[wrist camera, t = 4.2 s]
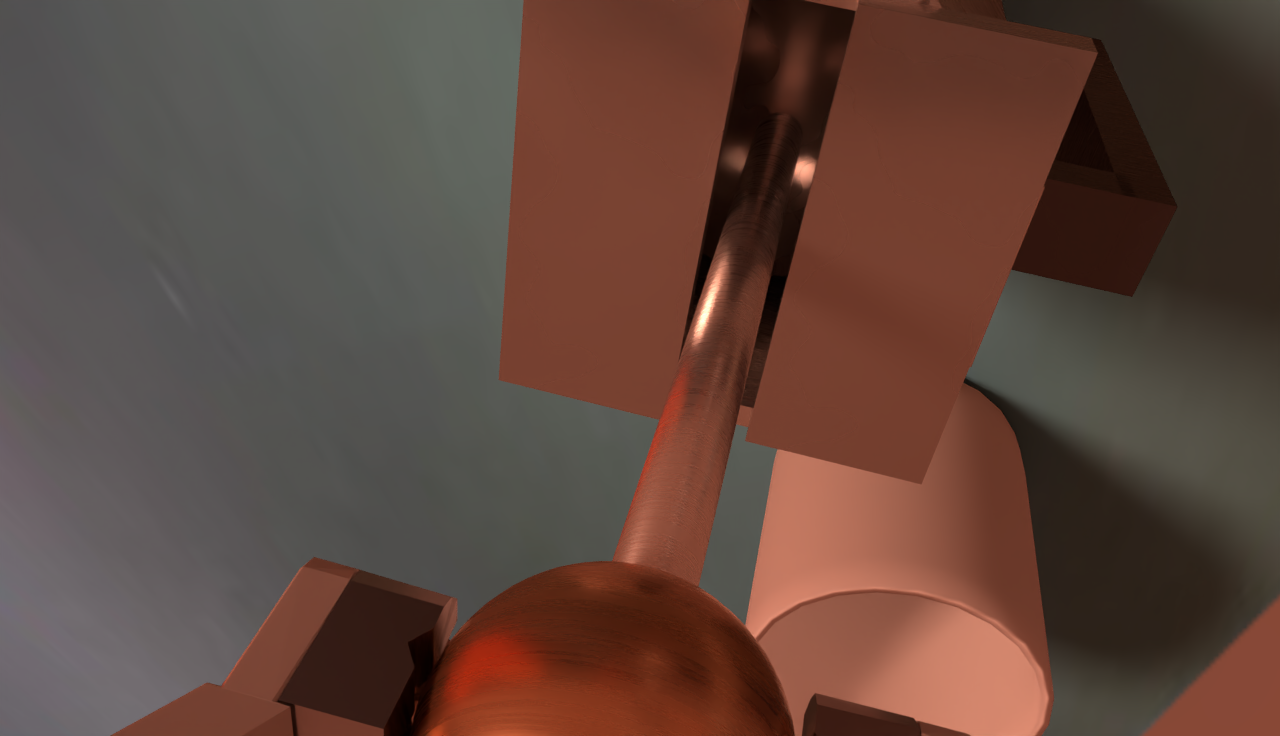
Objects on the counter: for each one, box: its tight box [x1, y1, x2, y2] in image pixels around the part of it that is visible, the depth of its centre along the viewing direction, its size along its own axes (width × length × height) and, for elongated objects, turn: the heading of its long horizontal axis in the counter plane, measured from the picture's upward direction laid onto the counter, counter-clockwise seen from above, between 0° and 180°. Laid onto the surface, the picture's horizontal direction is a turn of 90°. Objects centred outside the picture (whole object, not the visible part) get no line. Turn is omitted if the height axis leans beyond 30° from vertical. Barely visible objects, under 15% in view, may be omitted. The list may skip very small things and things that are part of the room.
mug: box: [745, 383, 1054, 736], centre depth 37 cm, size 10×12×12 cm
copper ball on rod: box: [410, 0, 855, 736], centre depth 15 cm, size 7×7×18 cm
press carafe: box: [499, 0, 1177, 484], centre depth 25 cm, size 9×12×17 cm
